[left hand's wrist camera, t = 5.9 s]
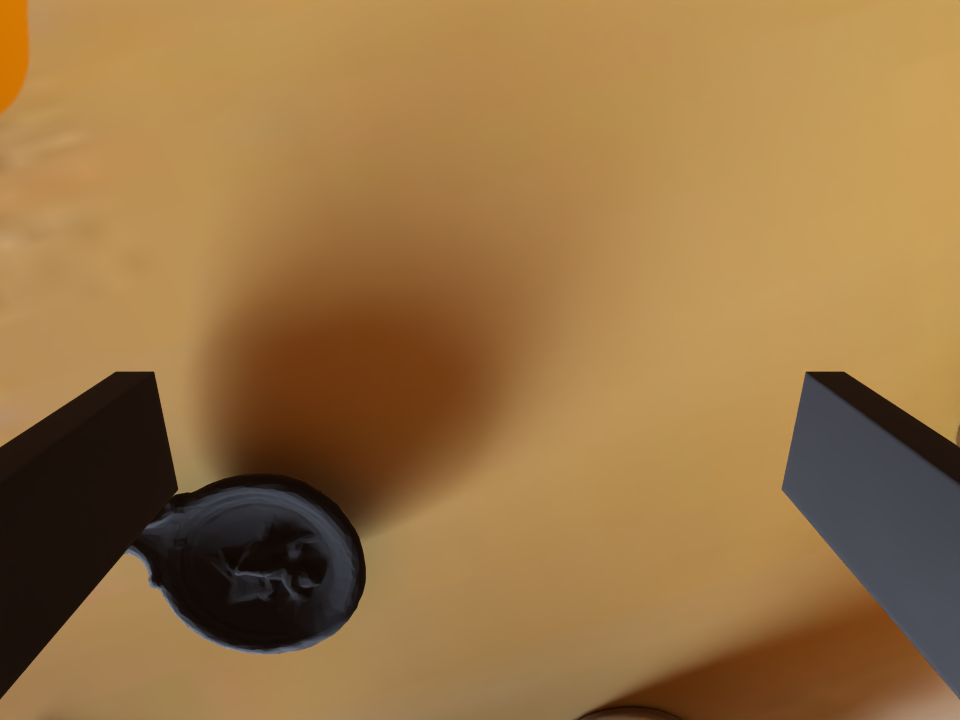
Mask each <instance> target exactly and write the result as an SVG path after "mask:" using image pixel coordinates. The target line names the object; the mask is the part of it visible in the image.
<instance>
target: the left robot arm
mask: <svg viewBox="0 0 960 720" xmlns="http://www.w3.org/2000/svg"><path fill="white" fill-rule="evenodd" d="M177 490H178V486H177V481H176V476H175V471H174V466H173V461H172V457H171V452H170V447H169V442H168V437H167V432H166V427H165V422H164V418H163V413H162V408H161V403H160V398H159V393H158V388H157V383H156V379H155V374H154V372H115V373H113V374H112V375H110V376H109V377H107V378H106V379H104V380H103V381H101V382H100V383H98V384H96V385H95V386H93V387H92V388H90V389H89V390H87V391H86V392H84V393H83V394H81V395H80V396H78V397H77V398H75V399H73V400H72V401H70V402H69V403H67V404H66V405H64V406H63V407H61V408H60V409H58V410H57V411H55V412H54V413H52V414H51V415H49V416H47V417H46V418H44V419H43V420H41V421H40V422H38V423H37V424H35V425H34V426H32V427H31V428H29V429H28V430H26V431H25V432H23V433H21V434H20V435H18V436H17V437H15V438H14V439H12V440H11V441H9V442H8V443H6V444H5V445H3V446H2V447H0V699H1V698H2V697H3V695H4V694H5V693H6V692H7V691H8V690H9V688H10V687H11V686H12V685H13V684H14V682H15V681H16V680H17V679H18V678H19V677H20V675H21V674H22V673H23V672H24V671H25V670H26V668H27V667H28V666H29V665H30V664H31V662H32V661H33V660H34V659H35V658H36V657H37V655H38V654H39V653H40V652H41V651H42V649H43V648H44V647H45V646H46V645H47V644H48V642H49V641H50V640H51V639H52V638H53V637H54V635H55V634H56V633H57V632H58V631H59V629H60V628H61V627H62V626H63V625H64V624H65V622H66V621H67V620H68V619H69V618H70V616H71V615H72V614H73V613H74V612H75V611H76V609H77V608H78V607H79V606H80V605H81V604H82V602H83V601H84V600H85V599H86V598H87V596H88V595H89V594H90V593H91V592H92V591H93V589H94V588H95V587H96V586H97V585H98V583H99V582H100V581H101V580H102V579H103V578H104V576H105V575H106V574H107V573H108V572H109V571H110V569H111V568H112V567H113V566H114V565H115V563H116V562H117V561H118V560H119V559H120V558H121V556H122V555H123V554H124V553H125V552H126V550H127V549H128V548H129V547H130V546H131V545H132V543H133V542H134V541H135V540H136V539H137V538H138V536H139V535H140V534H141V533H142V532H143V530H144V529H145V528H146V527H147V526H148V525H149V523H150V522H151V521H152V520H153V519H154V517H155V516H156V515H157V514H158V513H159V512H160V510H161V509H162V508H163V507H164V506H165V505H166V503H167V502H168V501H169V500H170V499H171V497H172V496H173V495H174V494H175V493H176V492H177ZM782 490H783V492H784V493H785V494H786V495H787V496H788V497H789V499H790V500H791V501H792V502H793V503H794V505H795V506H796V507H797V508H798V509H799V510H800V512H801V513H802V514H803V515H804V516H805V517H806V519H807V520H808V521H809V522H810V523H811V525H812V526H813V527H814V528H815V529H816V530H817V532H818V533H819V534H820V535H821V536H822V538H823V539H824V540H825V541H826V542H827V543H828V545H829V546H830V547H831V548H832V549H833V550H834V552H835V553H836V554H837V555H838V556H839V558H840V559H841V560H842V561H843V562H844V563H845V565H846V566H847V567H848V568H849V569H850V571H851V572H852V573H853V574H854V575H855V576H856V578H857V579H858V580H859V581H860V582H861V583H862V585H863V586H864V587H865V588H866V589H867V591H868V592H869V593H870V594H871V595H872V596H873V598H874V599H875V600H876V601H877V602H878V604H879V605H880V606H881V607H882V608H883V609H884V611H885V612H886V613H887V614H888V615H889V616H890V618H891V619H892V620H893V621H894V622H895V624H896V625H897V626H898V627H899V628H900V629H901V631H902V632H903V633H904V634H905V635H906V637H907V638H908V639H909V640H910V641H911V642H912V644H913V645H914V646H915V647H916V648H917V649H918V651H919V652H920V653H921V654H922V655H923V657H924V658H925V659H926V660H927V661H928V662H929V664H930V665H931V666H932V667H933V668H934V670H935V671H936V672H937V673H938V674H939V675H940V677H941V678H942V679H943V680H944V681H945V683H946V684H947V685H948V686H949V687H950V688H951V690H952V691H953V692H954V693H955V694H956V695H957V697H958V698H959V699H960V447H958V446H957V445H955V444H954V443H952V442H951V441H949V440H948V439H946V438H945V437H943V436H942V435H940V434H939V433H937V432H935V431H934V430H932V429H931V428H929V427H928V426H926V425H925V424H923V423H922V422H920V421H919V420H917V419H916V418H914V417H913V416H911V415H909V414H908V413H906V412H905V411H903V410H902V409H900V408H899V407H897V406H896V405H894V404H893V403H891V402H890V401H888V400H887V399H885V398H883V397H882V396H880V395H879V394H877V393H876V392H874V391H873V390H871V389H870V388H868V387H867V386H865V385H864V384H862V383H860V382H859V381H857V380H856V379H854V378H853V377H851V376H850V375H848V374H847V373H845V372H806V374H805V379H804V383H803V388H802V393H801V398H800V403H799V408H798V413H797V418H796V422H795V427H794V432H793V437H792V442H791V447H790V452H789V457H788V461H787V466H786V471H785V476H784V481H783V486H782ZM580 720H680V719H678V718H676V717H674V716H672V715H670V714H667V713H664V712H661V711H657V710H652V709H646V708H632V707H630V708H616V709H610V710H605V711H601V712H597V713H594V714H591V715H588V716H586V717H584V718H581V719H580Z"/></svg>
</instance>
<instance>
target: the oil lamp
mask: <svg viewBox="0 0 960 720" xmlns="http://www.w3.org/2000/svg"><path fill="white" fill-rule="evenodd" d="M124 554H132V555H134V556H136V557H138V558H139V559H140V560H141V561H142V562H143V563H144V564H145V566H146V568H147V570H148V573H149V584H150V586H151V587H152V588H157V589H159V590H160V591H161V592H162V594H163V595H164V597H165V599H166V601H167V602H168V604H169V605H170V607H171V608H172V610H173V611H174V613H175V614H176V616H177V617H179V618H180V619H181V620H182V621H183V622H184V623H185V624H186V625H187V626H188V627H189V628H190V629H192V630H193V631H194V632H195V633H197V634H198V635H200V636H201V637H203V638H204V639H206V640H208V641H210V642H213V643H215V644H217V645H219V646H222V647H225V648H229V649H233V650H237V651H241V652H245V653H254V654H280V653H284V652H290V651H297V650H301V649H305V648H309V647H312V646H314V645H315V644H317V643H319V642H321V641H323V640H325V639H327V638H328V637H330V636H332V635H334V634H335V633H336V632H337V631H338V630H339V629H340V628H341V627H342V626H343V625H344V624H345V623H346V622H347V621H348V620H349V618H350V617H351V615H352V614H353V612H354V611H355V610H356V608H357V606H358V603H359V600H360V598H361V596H362V594H363V591H364V587H365V582H366V566H365V560H364V554H363V549H362V546H361V542H360V539H359V536H358V534H357V532H356V530H355V528H354V527H353V526H352V524H351V523H350V521H349V520H348V518H347V517H346V516H345V514H344V513H343V512H342V510H341V509H340V508H339V507H338V505H337V504H336V503H334V502H333V501H332V500H331V499H329V498H328V497H327V496H325V495H324V494H323V493H321V491H318V490H316V489H315V488H313V487H312V486H310V485H308V484H307V483H305V482H302V481H300V480H297V479H294V478H290V477H287V476H283V475H276V474H245V475H238V476H234V477H229V478H225V479H222V480H219V481H216V482H213V483H211V484H208V485H206V486H205V487H203V488H201V489H199V490H197V491H194V492H192V493H183V494H177V495H174V496H173V497H172V498H171V499H170V500H169V501H168V502H167V503H166V505H165V506H164V507H163V508H162V509H161V510H160V512H159V513H158V514H157V515H156V516H155V517H154V519H153V520H152V521H151V522H150V523H149V525H148V526H147V527H146V528H145V529H144V530H143V532H142V533H141V534H140V535H139V536H138V538H137V539H136V540H135V541H134V542H133V543H132V545H131V546H130V547H129V548H128V549H127V550H126V552H125V553H124Z"/></svg>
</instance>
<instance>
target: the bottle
mask: <svg viewBox="0 0 960 720" xmlns="http://www.w3.org/2000/svg"><path fill="white" fill-rule="evenodd" d="M957 446H958V447H960V426H959V429H958V433H957Z"/></svg>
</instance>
